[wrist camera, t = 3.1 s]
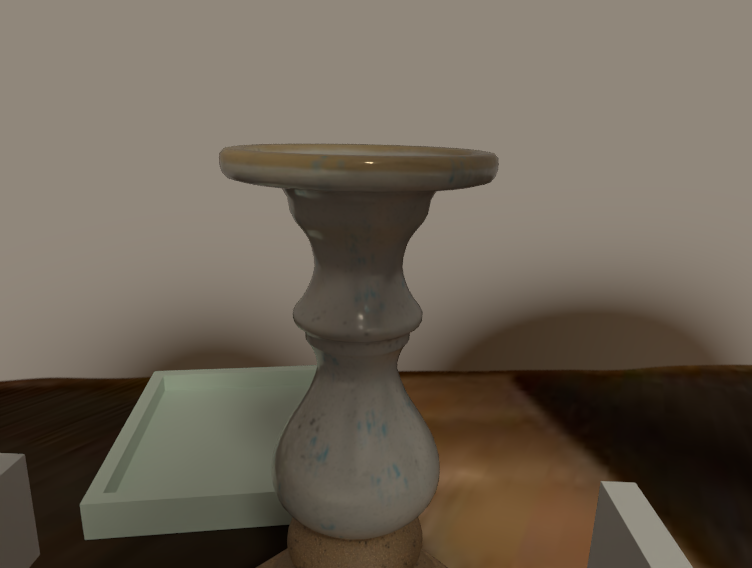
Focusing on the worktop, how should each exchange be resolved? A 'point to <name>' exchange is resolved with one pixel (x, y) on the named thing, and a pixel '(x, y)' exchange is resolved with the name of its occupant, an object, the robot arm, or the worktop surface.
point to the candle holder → (356, 347)
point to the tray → (196, 454)
